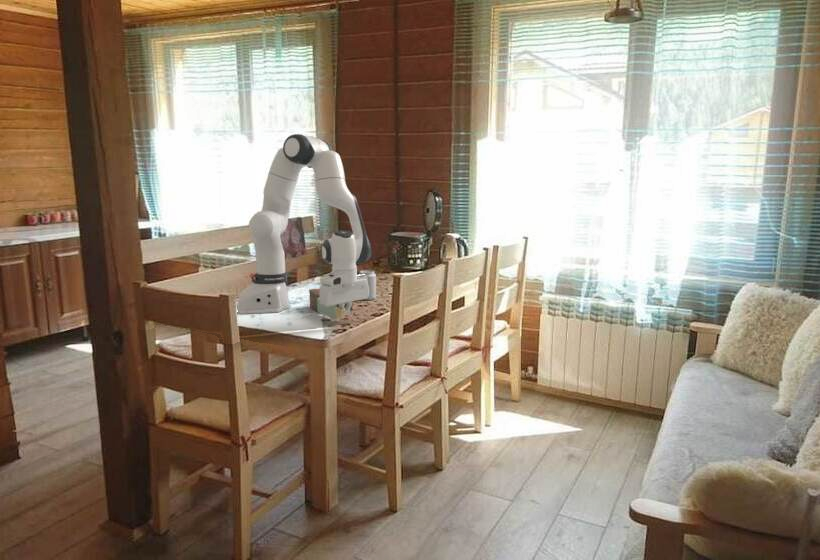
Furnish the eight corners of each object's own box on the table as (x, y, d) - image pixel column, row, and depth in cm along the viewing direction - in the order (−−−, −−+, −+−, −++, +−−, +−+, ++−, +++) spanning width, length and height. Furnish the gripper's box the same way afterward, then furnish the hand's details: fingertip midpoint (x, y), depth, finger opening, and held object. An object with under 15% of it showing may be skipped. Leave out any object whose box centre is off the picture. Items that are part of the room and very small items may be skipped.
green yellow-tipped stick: (317, 311, 239) (317, 298, 238) (319, 311, 240) (319, 297, 239) (341, 321, 224) (341, 307, 223) (343, 321, 224) (343, 307, 224)
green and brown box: (317, 313, 241) (317, 295, 239) (309, 306, 252) (309, 289, 251) (352, 309, 246) (352, 292, 245) (343, 303, 257) (342, 286, 256)
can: (373, 301, 261) (373, 272, 259) (356, 300, 263) (355, 272, 261) (378, 297, 269) (377, 270, 266) (361, 296, 270) (360, 269, 268)
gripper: (361, 271, 233) (362, 308, 236) (316, 279, 219) (317, 317, 222) (372, 274, 229) (373, 310, 231) (327, 281, 215) (328, 320, 217)
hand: (345, 314), depth 226 cm, fingers closed
